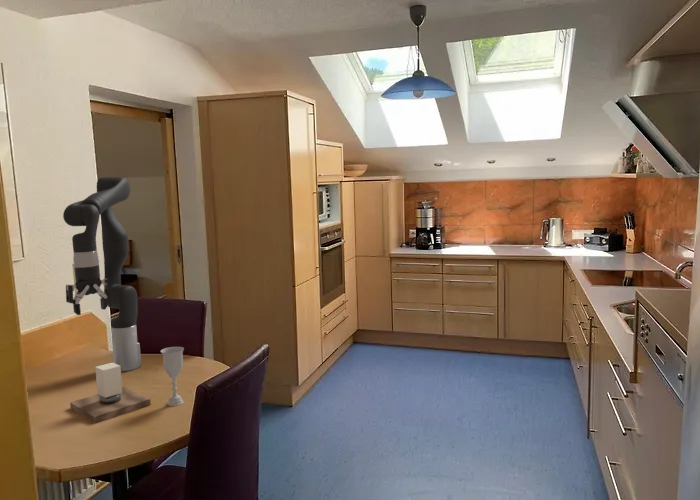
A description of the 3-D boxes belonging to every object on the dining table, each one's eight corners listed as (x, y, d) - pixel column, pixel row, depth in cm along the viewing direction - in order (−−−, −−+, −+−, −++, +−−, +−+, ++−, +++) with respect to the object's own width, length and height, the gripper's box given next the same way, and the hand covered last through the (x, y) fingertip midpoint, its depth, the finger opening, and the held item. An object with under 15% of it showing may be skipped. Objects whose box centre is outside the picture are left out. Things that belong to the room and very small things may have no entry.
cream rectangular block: (114, 388, 179) (112, 362, 178) (122, 392, 175) (120, 365, 174) (97, 393, 175) (95, 366, 174) (105, 397, 171) (103, 370, 170)
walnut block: (124, 392, 188) (124, 386, 188) (150, 404, 176) (150, 398, 176) (70, 408, 175) (70, 402, 175) (94, 423, 163) (94, 416, 163)
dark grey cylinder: (115, 395, 180) (113, 366, 179) (124, 400, 176) (122, 370, 175) (96, 401, 175) (93, 371, 174) (105, 406, 171) (102, 375, 170)
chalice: (165, 408, 173) (162, 354, 171) (162, 401, 179) (159, 348, 177) (188, 404, 176) (185, 350, 174) (184, 397, 182) (182, 345, 180)
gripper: (102, 260, 188) (106, 306, 190) (59, 266, 177) (64, 314, 179) (112, 262, 183) (117, 309, 185) (69, 268, 172) (74, 318, 175)
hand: (91, 311), depth 182 cm, fingers open, 8 cm apart
